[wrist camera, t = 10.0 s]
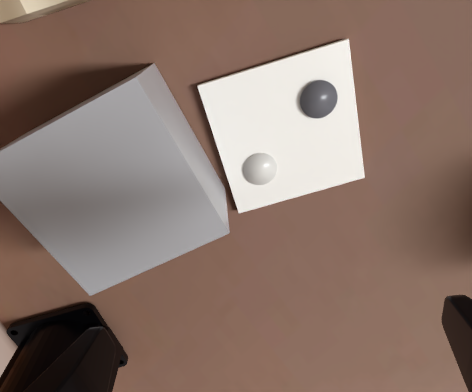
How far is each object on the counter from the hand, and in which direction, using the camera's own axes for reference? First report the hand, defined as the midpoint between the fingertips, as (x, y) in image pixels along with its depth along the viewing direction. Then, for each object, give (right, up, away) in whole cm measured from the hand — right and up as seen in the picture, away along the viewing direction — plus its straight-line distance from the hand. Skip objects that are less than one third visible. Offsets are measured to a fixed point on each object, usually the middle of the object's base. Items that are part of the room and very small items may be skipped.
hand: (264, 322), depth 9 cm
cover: (-7, +5, +11) cm, 14 cm away
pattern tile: (+2, +7, +11) cm, 13 cm away
